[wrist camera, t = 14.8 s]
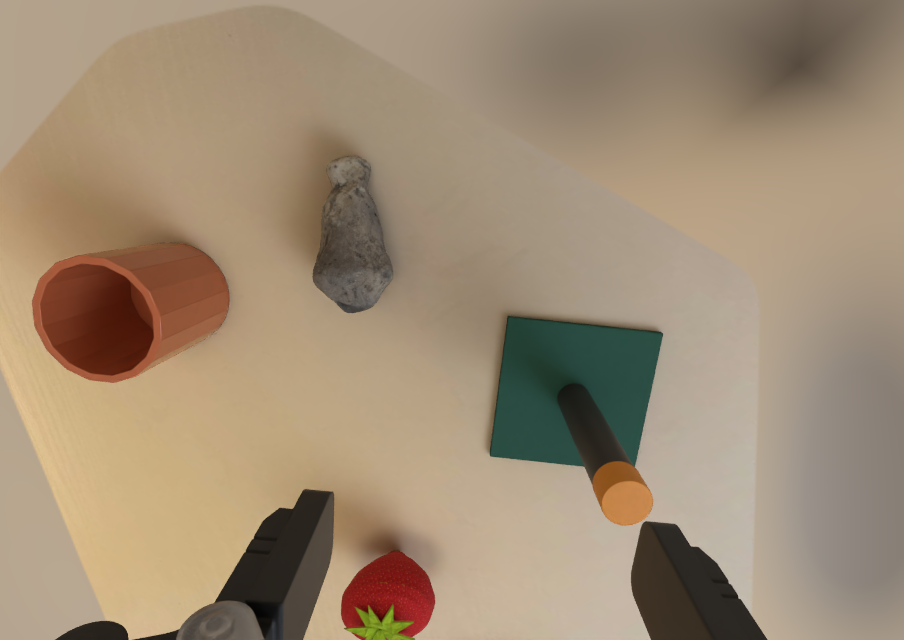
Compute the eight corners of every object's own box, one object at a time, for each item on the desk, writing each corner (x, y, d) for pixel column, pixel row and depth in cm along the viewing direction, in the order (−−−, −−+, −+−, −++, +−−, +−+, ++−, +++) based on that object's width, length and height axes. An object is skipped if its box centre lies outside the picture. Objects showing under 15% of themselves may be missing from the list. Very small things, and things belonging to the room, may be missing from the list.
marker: (559, 380, 39) (606, 478, 26) (593, 384, 39) (657, 483, 26) (554, 412, 40) (597, 522, 26) (587, 415, 40) (647, 528, 26)
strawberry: (445, 577, 45) (438, 682, 35) (364, 587, 45) (336, 694, 36) (432, 520, 43) (421, 614, 34) (349, 533, 44) (315, 628, 34)
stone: (337, 152, 37) (249, 205, 33) (378, 138, 33) (284, 196, 29) (398, 263, 42) (328, 322, 38) (441, 263, 38) (367, 328, 34)
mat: (507, 315, 39) (508, 317, 38) (661, 331, 39) (663, 333, 38) (489, 453, 42) (489, 456, 41) (632, 468, 42) (633, 472, 41)
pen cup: (126, 237, 38) (25, 249, 30) (229, 248, 38) (157, 263, 29) (132, 336, 40) (39, 375, 32) (230, 346, 40) (163, 388, 31)
